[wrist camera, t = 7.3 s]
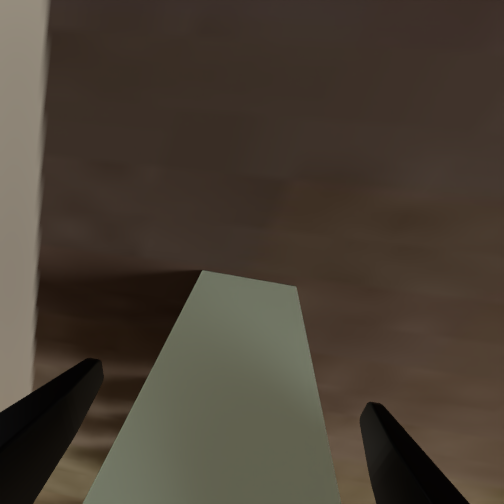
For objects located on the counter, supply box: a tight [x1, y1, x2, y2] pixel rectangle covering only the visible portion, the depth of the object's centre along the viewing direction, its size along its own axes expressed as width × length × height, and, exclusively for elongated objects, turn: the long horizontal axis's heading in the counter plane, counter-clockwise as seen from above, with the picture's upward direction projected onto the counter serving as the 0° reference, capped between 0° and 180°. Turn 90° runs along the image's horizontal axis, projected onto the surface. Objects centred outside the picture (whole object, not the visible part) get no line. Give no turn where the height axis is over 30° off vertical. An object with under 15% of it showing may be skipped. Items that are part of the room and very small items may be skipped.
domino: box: [83, 270, 341, 504], centre depth 9 cm, size 2×5×10 cm, turn 80°
